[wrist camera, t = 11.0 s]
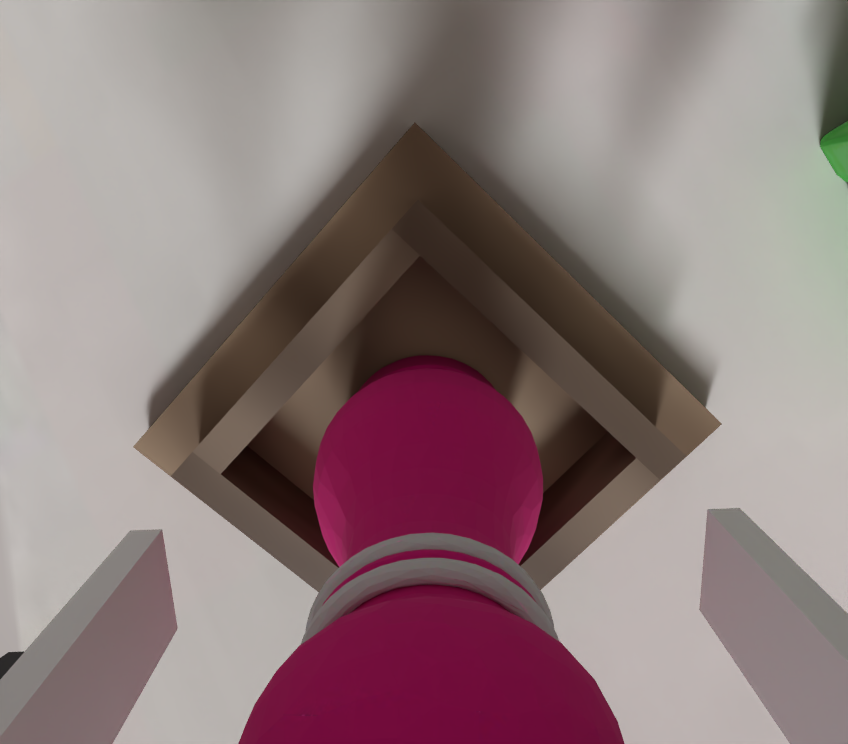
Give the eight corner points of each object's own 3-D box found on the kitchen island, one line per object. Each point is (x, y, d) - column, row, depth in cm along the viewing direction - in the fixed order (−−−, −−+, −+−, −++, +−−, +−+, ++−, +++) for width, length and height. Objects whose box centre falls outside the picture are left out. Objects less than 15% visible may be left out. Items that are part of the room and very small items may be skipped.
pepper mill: (330, 513, 26) (56, 1427, 7) (336, 334, 24) (-20, 885, 5) (511, 524, 26) (760, 1455, 7) (531, 347, 24) (952, 935, 5)
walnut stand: (415, 127, 24) (414, 110, 19) (705, 411, 27) (761, 453, 22) (148, 433, 27) (95, 479, 22) (436, 661, 29) (439, 740, 25)
